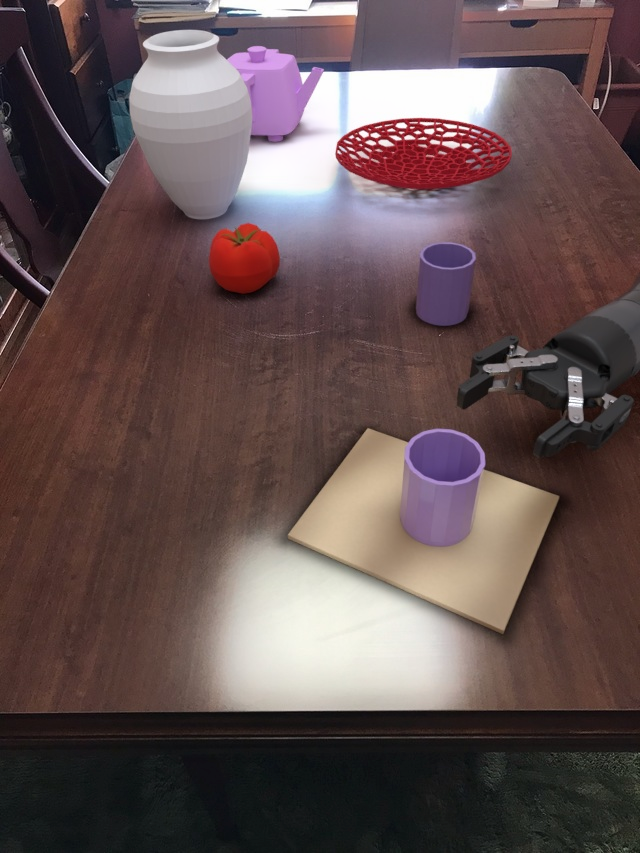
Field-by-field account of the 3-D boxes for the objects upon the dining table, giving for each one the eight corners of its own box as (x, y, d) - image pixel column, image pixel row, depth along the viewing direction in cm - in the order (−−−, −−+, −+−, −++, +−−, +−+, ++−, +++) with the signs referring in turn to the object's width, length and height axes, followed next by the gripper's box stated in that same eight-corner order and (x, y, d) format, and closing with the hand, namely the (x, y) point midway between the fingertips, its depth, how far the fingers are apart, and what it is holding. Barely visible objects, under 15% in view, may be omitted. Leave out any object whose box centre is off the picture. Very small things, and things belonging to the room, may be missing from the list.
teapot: (200, 128, 140) (188, 45, 129) (276, 108, 147) (271, 29, 137) (248, 157, 128) (239, 69, 118) (327, 134, 135) (326, 50, 125)
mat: (558, 500, 64) (559, 496, 64) (502, 634, 54) (504, 630, 54) (367, 431, 72) (367, 427, 72) (287, 539, 62) (287, 534, 62)
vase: (241, 239, 104) (221, 58, 87) (132, 230, 107) (92, 53, 90) (273, 190, 117) (260, 23, 100) (174, 183, 120) (146, 21, 103)
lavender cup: (483, 506, 63) (496, 444, 58) (457, 558, 59) (468, 496, 54) (417, 481, 66) (423, 419, 60) (387, 529, 62) (391, 467, 56)
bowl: (357, 140, 133) (357, 113, 129) (513, 152, 126) (517, 123, 123) (315, 205, 112) (314, 175, 109) (499, 224, 106) (504, 192, 102)
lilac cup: (475, 305, 89) (483, 249, 84) (456, 331, 85) (463, 274, 80) (427, 293, 92) (432, 237, 86) (407, 317, 87) (411, 261, 82)
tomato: (211, 302, 91) (203, 251, 86) (215, 268, 98) (208, 219, 93) (281, 299, 91) (277, 248, 86) (281, 265, 98) (278, 216, 93)
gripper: (549, 289, 70) (440, 354, 62) (683, 350, 61) (576, 434, 54) (535, 349, 75) (433, 416, 67) (657, 413, 67) (557, 498, 59)
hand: (497, 424), depth 61 cm, fingers open, 8 cm apart
